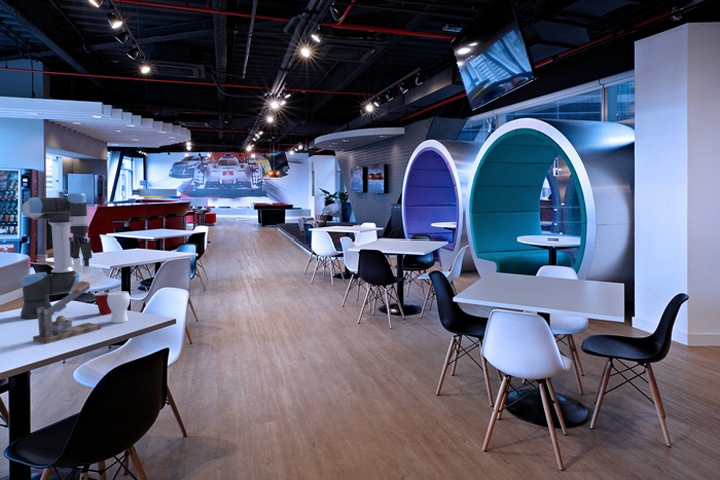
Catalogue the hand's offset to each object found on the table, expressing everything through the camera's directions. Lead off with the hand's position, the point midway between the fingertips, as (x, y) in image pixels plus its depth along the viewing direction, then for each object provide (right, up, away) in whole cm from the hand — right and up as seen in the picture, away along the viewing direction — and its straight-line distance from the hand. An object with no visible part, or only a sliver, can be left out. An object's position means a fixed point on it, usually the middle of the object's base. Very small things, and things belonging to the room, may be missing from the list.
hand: (81, 272), depth 230 cm
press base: (-4, -30, -5) cm, 30 cm away
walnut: (-5, -22, -8) cm, 24 cm away
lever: (-3, -14, -5) cm, 16 cm away
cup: (+9, -27, +19) cm, 34 cm away
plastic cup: (-8, -26, +35) cm, 45 cm away
